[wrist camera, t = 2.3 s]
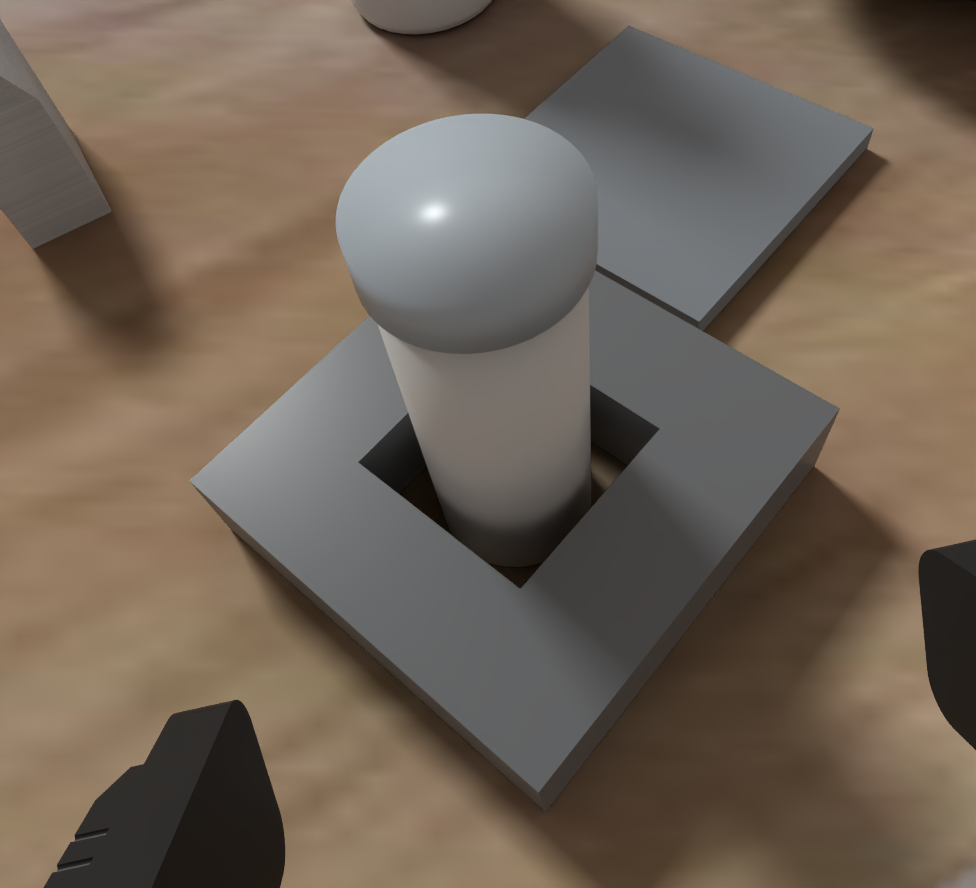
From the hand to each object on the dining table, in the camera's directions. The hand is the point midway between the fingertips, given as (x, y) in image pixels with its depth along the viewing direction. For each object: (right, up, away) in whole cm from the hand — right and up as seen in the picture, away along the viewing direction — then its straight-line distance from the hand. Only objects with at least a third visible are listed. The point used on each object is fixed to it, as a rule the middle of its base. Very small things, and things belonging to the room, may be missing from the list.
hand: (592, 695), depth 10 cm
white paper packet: (-21, +15, +30) cm, 39 cm away
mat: (+6, +14, +26) cm, 30 cm away
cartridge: (0, +1, +19) cm, 19 cm away
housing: (0, +1, +19) cm, 19 cm away
